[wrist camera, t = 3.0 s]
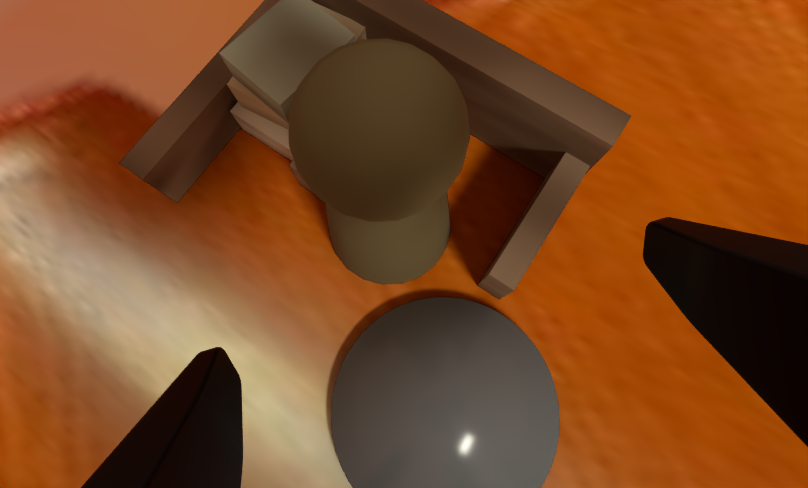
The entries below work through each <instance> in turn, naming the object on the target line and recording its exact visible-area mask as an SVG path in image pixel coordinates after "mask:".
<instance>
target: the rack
mask: <svg viewBox="0 0 808 488" xmlns="http://www.w3.org/2000/svg"><path fill="white" fill-rule="evenodd" d="M385 38H387V39H392V40H396V41H400V42H404V43H409V44H412V45H414V46H415V47H417V48H419V49H421V50H422V51H424V52H426V53H428V54H430V55H431V56H433V57H434V58H435V59H436V60H437V61H438V62H439V63H440V64H441V65H442V66H443V67H444V68H445V69H446V70H447V71H448V72H449V73H450V74H451V75H452V76H453V77H454V79H455V80H456V82H457V84H458V86H459V89H460V91H461V93H462V95H463V97H464V99H465V102H466V106H467V111H468V121H469V132H470V134H471V135H472V136H474V137H476V138H478V139H479V140H481V141H483V142H484V143H486V144H488V145H489V146H491V147H493V148H494V149H496V150H498V151H499V152H501V153H503V154H505V155H506V156H508V157H510V158H511V159H513V160H515V161H516V162H518V163H520V164H521V165H523V166H525V167H526V168H528V169H530V170H532V171H533V172H535V173H537V174H538V175H540V176H542V177H543V178H545V179H544V181H543V182H542V184H541V185H540V187H539V189H538V190H537V192H536V193H535V195H534V197H533V198H532V200H531V201H530V203H529V204H528V206H527V208H526V209H525V211H524V212H523V214H522V216H521V217H520V219H519V220H518V222H517V223H516V225H515V227H514V228H513V230H512V231H511V233H510V234H509V236H508V238H507V239H506V241H505V242H504V244H503V246H502V247H501V249H500V250H499V252H498V253H497V255H496V257H495V258H494V260H493V261H492V263H491V264H490V266H489V268H488V269H487V271H486V272H485V274H484V276H483V277H482V279H481V280H480V282H479V283H478V285H477V286H479V287H480V288H482V289H483V290H485V291H487V292H488V293H490V294H491V295H493V296H494V297H496V298H497V299H500V298H502V297H504V296H506V295H507V294H509V293H511V292H512V291H514V290H515V288H516V287H517V285H518V283H519V282H520V280H521V278H522V277H523V275H524V273H525V272H526V270H527V269H528V267H529V265H530V264H531V262H532V260H533V259H534V257H535V255H536V254H537V252H538V251H539V249H540V247H541V246H542V244H543V242H544V241H545V239H546V237H547V236H548V234H549V233H550V231H551V229H552V228H553V226H554V224H555V223H556V221H557V219H558V218H559V216H560V215H561V213H562V211H563V210H564V208H565V206H566V205H567V203H568V201H569V200H570V198H571V196H572V195H573V193H574V192H575V190H576V188H577V187H578V185H579V183H580V182H581V180H582V178H583V177H584V175H585V174H586V173H587V172H588V171H589V170H590V169H591V168H592V167H593V166H594V165H595V164H596V163H597V162H598V161H599V160H600V159H601V158H602V157H603V156H604V155H605V154H606V153H607V152H608V151H609V150H610V149H611V148H612V147H613V146H614V144H615V142H616V141H617V139H618V137H619V136H620V134H621V132H622V131H623V129H624V127H625V126H626V124H627V122H628V121H629V119H630V117H631V115H629V114H627V113H625V112H624V111H622V110H620V109H618V108H616V107H614V106H613V105H611V104H609V103H607V102H605V101H604V100H602V99H600V98H598V97H596V96H595V95H593V94H591V93H589V92H587V91H586V90H584V89H582V88H580V87H578V86H577V85H575V84H573V83H571V82H569V81H568V80H566V79H564V78H562V77H560V76H558V75H557V74H555V73H553V72H551V71H549V70H548V69H546V68H544V67H542V66H540V65H539V64H537V63H535V62H533V61H531V60H530V59H528V58H526V57H524V56H522V55H521V54H519V53H517V52H515V51H513V50H512V49H510V48H508V47H506V46H504V45H502V44H501V43H499V42H497V41H495V40H493V39H492V38H490V37H488V36H486V35H484V34H483V33H481V32H479V31H477V30H475V29H474V28H472V27H470V26H468V25H466V24H465V23H463V22H461V21H459V20H457V19H456V18H454V17H452V16H450V15H448V14H446V13H445V12H443V11H441V10H439V9H437V8H436V7H434V6H432V5H430V4H428V3H427V2H425V1H423V0H264V1H263V3H262V4H261V5H260V6H259V7H258V8H257V9H256V10H255V11H254V13H253V14H252V15H251V16H250V17H249V18H248V19H247V20H246V22H245V23H244V24H243V25H242V26H241V27H240V28H239V29H238V30H237V32H236V33H235V34H234V35H233V36H232V37H231V38H230V39H229V41H228V42H227V43H226V44H225V45H224V46H223V47H222V48H221V50H220V51H219V52H218V53H217V54H216V55H215V56H214V57H213V58H212V59H211V61H210V62H209V63H208V64H207V65H206V66H205V67H204V68H203V70H202V71H201V72H200V73H199V74H198V75H197V76H196V77H195V78H194V80H193V81H192V82H191V83H190V84H189V85H188V86H187V88H186V89H185V90H184V91H183V92H182V93H181V94H180V95H179V97H178V98H177V99H176V100H175V101H174V102H173V103H172V104H171V105H170V106H169V108H168V109H167V110H166V111H165V112H164V113H163V114H162V115H161V116H160V118H159V119H158V120H157V121H156V122H155V123H154V124H153V125H152V126H151V128H150V129H149V130H148V131H147V132H146V133H145V134H144V135H143V137H142V138H141V139H140V140H139V141H138V142H137V143H136V144H135V145H134V147H133V148H132V149H131V150H130V151H129V152H128V153H127V154H126V156H125V157H124V158H123V159H122V160H121V161H120V162H119V164H121V165H122V166H124V167H125V168H127V169H128V170H130V171H131V172H132V173H134V174H135V175H137V176H138V177H140V178H141V179H143V180H144V181H146V182H147V183H148V184H150V185H151V186H153V187H154V188H156V189H157V190H159V191H160V192H162V193H163V194H165V195H166V196H168V197H169V198H171V199H172V200H174V201H175V202H178V201H179V200H180V199H181V198H182V196H183V195H184V194H185V193H186V192H187V190H188V189H189V188H190V187H191V186H192V184H193V183H194V182H195V181H196V180H197V178H198V177H199V176H200V175H201V174H202V173H203V171H204V170H205V169H206V168H207V167H208V165H209V164H210V163H211V162H212V161H213V159H214V158H215V157H216V156H217V155H218V153H219V152H220V151H221V150H222V149H223V148H224V146H225V145H226V144H227V143H228V142H229V140H230V139H231V138H232V137H233V136H234V134H235V133H236V132H237V131H238V130H239V129H240V127H242V129H243V130H244V131H246V132H247V133H249V134H251V135H252V136H254V137H255V138H257V139H258V140H260V141H261V142H263V143H265V144H266V145H268V146H269V147H271V148H272V149H274V150H275V151H277V152H278V153H280V154H282V155H283V156H285V157H286V158H288V159H289V160H291V161H292V162H291V163H290V165H289V167H290V168H291V170H292V171H293V173H294V175H295V176H296V178H297V180H298V181H299V183H300V185H301V186H303V187H304V188H306V189H307V190H309V191H310V192H312V193H314V192H313V191H312V190H311V189H310V187H309V186H308V185H307V183H306V182H305V181H304V180H303V178H302V177H301V175H300V174H299V172H298V171H297V168H296V165H295V162H294V159H293V156H292V153H291V150H290V147H289V108H290V106H291V103H292V100H293V98H294V95H295V92H296V90H297V87H298V85H299V84H300V82H301V81H302V80H303V79H304V77H305V76H306V75H307V74H308V72H309V71H310V70H311V69H312V68H313V66H314V65H315V64H316V63H317V61H318V60H320V59H321V58H323V57H324V56H326V55H327V54H329V53H330V52H332V51H333V50H335V49H336V48H338V47H340V46H343V45H346V44H349V43H352V42H356V41H359V40H362V39H385Z"/></svg>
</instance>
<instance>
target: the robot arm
mask: <svg viewBox="0 0 808 488" xmlns="http://www.w3.org/2000/svg"><path fill="white" fill-rule="evenodd" d="M643 259H644V262H645V264H646V266H647V267H648V269H649V270H650V271H651V273H652V274H653V275H654V276H655V278H656V279H657V280H658V282H659V283H660V284H661V286H662V287H663V288H664V289H665V291H666V292H667V293H668V295H669V296H670V297H671V299H672V300H673V301H674V303H675V304H676V305H677V306H678V308H679V309H680V310H681V312H682V313H683V314H684V315H685V317H686V318H687V319H688V320H689V321H690V323H691V324H692V325H693V326H694V327H695V328H696V329H697V330H698V331H699V332H700V334H701V335H702V336H703V337H704V338H705V339H706V340H707V341H708V342H709V343H710V344H711V345H712V346H713V347H714V348H715V349H716V350H717V352H718V353H719V354H720V355H721V356H722V357H723V358H724V359H725V360H726V361H727V362H728V363H729V364H730V365H731V366H732V367H733V368H734V370H735V371H736V372H737V373H738V374H739V375H740V376H741V377H742V378H743V379H744V380H745V381H746V382H747V383H748V384H749V385H750V386H751V388H752V389H753V390H754V391H755V392H756V393H757V394H758V395H759V396H760V397H761V398H762V399H763V400H764V401H765V402H766V403H767V404H768V406H769V407H770V408H771V409H772V410H773V411H774V412H775V413H776V414H777V415H778V416H779V417H780V418H781V419H782V420H783V421H784V423H785V424H786V425H787V426H788V427H789V428H790V429H791V430H792V431H793V432H794V433H795V434H796V435H797V436H798V437H799V438H800V439H801V441H802V442H803V443H804V444H805V445H806V446H807V447H808V245H805V244H800V243H795V242H790V241H785V240H781V239H776V238H771V237H766V236H761V235H756V234H751V233H746V232H741V231H736V230H731V229H726V228H721V227H716V226H711V225H706V224H701V223H696V222H691V221H686V220H681V219H676V218H671V217H666V218H662V219H659V220H655V221H652V222H650V223H649V224H648V225H647V227H646V230H645V239H644V248H643ZM242 464H243V429H242V389H241V380H240V377H239V374H238V372H237V371H236V369H235V367H234V365H233V364H232V362H231V360H230V359H229V357H228V355H227V354H226V352H225V351H224V349H222V348H221V347H216V348H212V349H209V350H205V351H202V352H200V353H198V354H197V355H196V356H195V358H194V359H193V360H192V361H191V362H190V363H189V364H188V366H187V367H186V368H185V369H184V370H183V371H182V372H181V374H180V375H179V376H178V377H177V378H176V379H175V380H174V382H173V383H172V384H171V385H170V386H169V387H168V389H167V390H166V391H165V392H164V393H163V394H162V395H161V397H160V398H159V399H158V400H157V401H156V402H155V403H154V405H153V406H152V407H151V408H150V409H149V410H148V411H147V413H146V414H145V415H144V416H143V417H142V418H141V419H140V421H139V422H138V423H137V424H136V425H135V426H134V427H133V429H132V430H131V431H130V432H129V433H128V434H127V435H126V437H125V438H124V439H123V440H122V441H121V442H120V444H119V445H118V446H117V447H116V448H115V449H114V450H113V452H112V453H111V454H110V455H109V456H108V457H107V458H106V460H105V461H104V462H103V463H102V464H101V465H100V466H99V468H98V469H97V470H96V471H95V472H94V473H93V474H92V476H91V477H90V478H89V479H88V480H87V481H86V482H85V484H84V485H83V486H82V487H81V488H241V477H242Z"/></svg>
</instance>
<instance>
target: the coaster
mask: <svg viewBox="0 0 808 488" xmlns="http://www.w3.org/2000/svg"><path fill="white" fill-rule="evenodd" d="M559 421H560V418H559V405H558V399H557V394H556V389H555V386H554V383H553V380H552V377H551V374H550V371H549V369H548V367H547V365H546V363H545V361H544V359H543V357H542V356H541V354H540V352H539V351H538V349H537V348H536V346H535V345H534V344H533V342H532V341H531V340H530V339H529V338H528V336H527V335H526V334H525V333H524V332H523V331H522V330H521V329H520V328H519V327H518V326H517V325H516V324H514V323H513V322H512V321H510V320H509V319H508V318H506V317H505V316H504V315H502V314H500V313H498V312H497V311H495V310H493V309H491V308H489V307H487V306H484V305H482V304H479V303H477V302H473V301H469V300H466V299H460V298H452V297H433V298H425V299H420V300H416V301H412V302H409V303H406V304H404V305H401V306H399V307H396V308H394V309H393V310H391V311H389V312H387V313H386V314H384V315H382V316H381V317H380V318H378V319H377V320H376V321H375V322H373V323H372V324H371V325H370V326H369V327H368V328H367V329H366V330H365V331H364V332H363V333H362V334H361V335H360V336H359V338H358V339H357V340H356V341H355V343H354V344H353V345H352V347H351V349H350V350H349V352H348V354H347V355H346V357H345V359H344V361H343V363H342V366H341V368H340V370H339V373H338V376H337V379H336V383H335V386H334V391H333V397H332V405H331V425H332V436H333V440H334V445H335V450H336V453H337V456H338V459H339V462H340V465H341V467H342V469H343V471H344V473H345V475H346V477H347V479H348V481H349V483H350V484H351V486H352V487H353V488H541V486H542V485H543V483H544V481H545V479H546V477H547V475H548V473H549V471H550V468H551V466H552V463H553V460H554V456H555V453H556V449H557V443H558V437H559Z"/></svg>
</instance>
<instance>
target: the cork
mask: <svg viewBox="0 0 808 488" xmlns="http://www.w3.org/2000/svg"><path fill="white" fill-rule="evenodd" d="M469 139H470V132H469V121H468V111H467V106H466V102H465V99H464V97H463V95H462V93H461V91H460V89H459V86H458V84H457V82H456V80H455V79H454V77H453V76H452V75H451V74H450V73H449V72H448V71H447V70H446V69H445V68H444V67H443V66H442V65H441V64H440V63H439V62H438V61H437V60H436V59H435V58H434V57H433V56H431V55H430V54H428V53H426V52H424V51H422V50H421V49H419V48H417V47H415V46H414V45H412V44H409V43H404V42H400V41H396V40H392V39H387V38H385V39H362V40H359V41H356V42H352V43H349V44H346V45H343V46H340V47H338V48H336V49H335V50H333V51H332V52H330V53H329V54H327V55H326V56H324V57H323V58H321V59H320V60H318V61H317V63H316V64H315V65H314V66H313V68H312V69H311V70H310V71H309V72H308V74H307V75H306V76H305V77H304V79H303V80H302V81H301V82H300V84H299V85H298V87H297V90H296V92H295V95H294V98H293V100H292V103H291V106H290V108H289V147H290V150H291V153H292V156H293V159H294V162H295V165H296V168H297V171H298V172H299V174H300V175H301V177H302V178H303V180H304V181H305V182H306V183H307V185H308V186H309V187H310V189H311V190H312V191H313V192H314V194H315V195H316V196H317V197H318V199H320V200H321V201H323V202H324V203H325V205H326V213H327V221H328V228H329V236H330V239H331V242H332V245H333V248H334V251H335V253H336V255H337V256H338V257H339V259H340V260H341V261H342V263H343V264H344V265H345V266H346V268H347V269H349V270H350V271H352V272H353V273H355V274H356V275H358V276H359V277H361V278H362V279H364V280H368V281H372V282H375V283H379V284H402V283H405V282H407V281H410V280H413V279H415V278H418V277H421V276H422V275H423V274H424V273H426V272H427V271H428V270H429V269H431V268H432V267H433V266H434V265H436V263H437V262H438V260H439V258H440V257H441V255H442V254H443V252H444V251H445V249H446V246H447V242H448V238H449V235H450V218H449V206H448V195H447V191H448V189H449V188H450V186H451V185H452V183H453V182H454V180H455V179H456V177H457V176H458V174H459V173H460V171H461V168H462V165H463V162H464V159H465V155H466V151H467V147H468V143H469Z"/></svg>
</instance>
